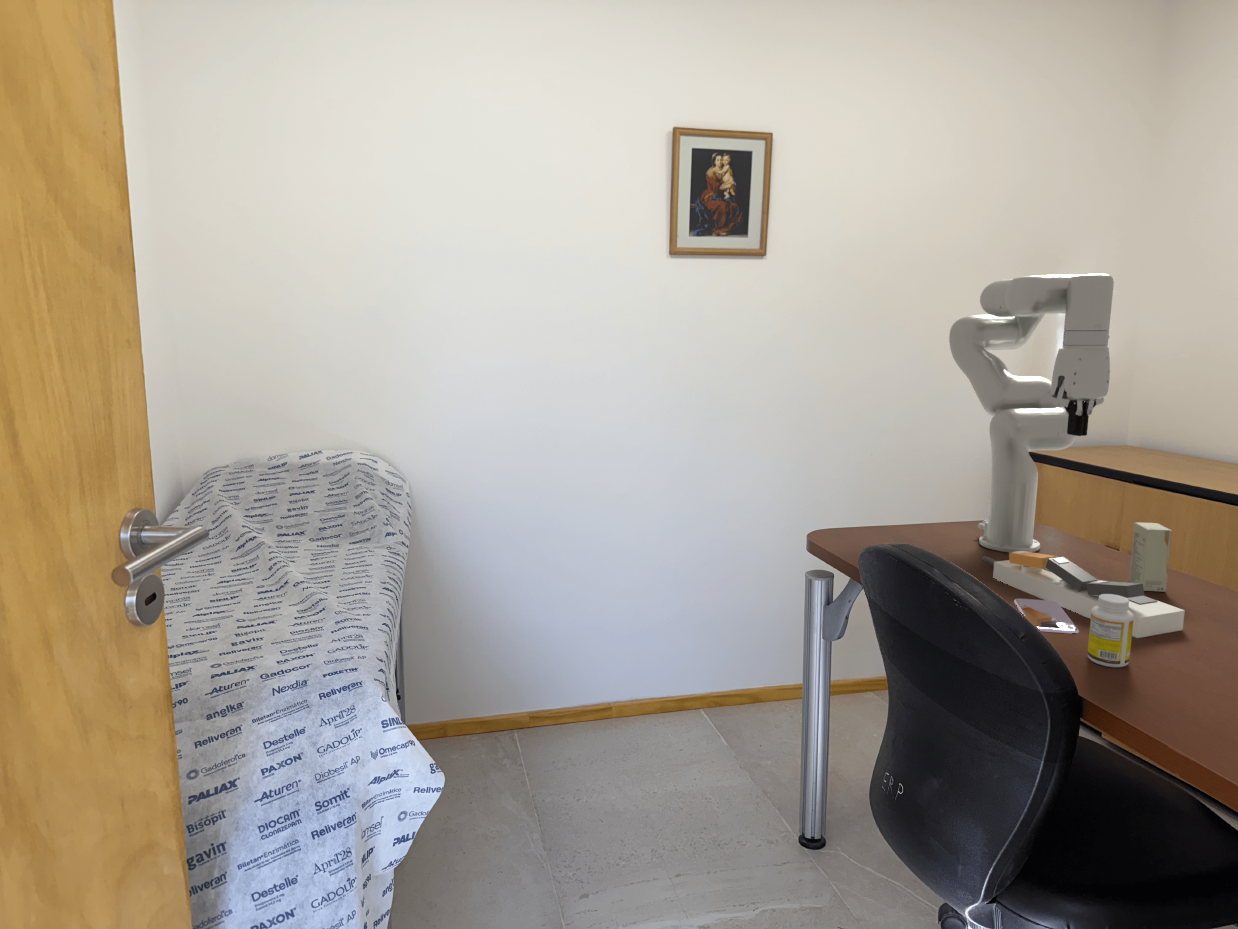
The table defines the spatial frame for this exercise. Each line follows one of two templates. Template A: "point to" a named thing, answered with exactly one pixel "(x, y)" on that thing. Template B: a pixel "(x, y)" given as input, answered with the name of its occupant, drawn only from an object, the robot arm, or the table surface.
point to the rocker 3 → (1115, 588)
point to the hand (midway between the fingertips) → (1076, 434)
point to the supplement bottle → (1110, 631)
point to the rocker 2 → (1070, 573)
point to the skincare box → (1150, 556)
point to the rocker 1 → (1029, 559)
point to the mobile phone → (1046, 615)
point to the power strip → (1087, 598)
